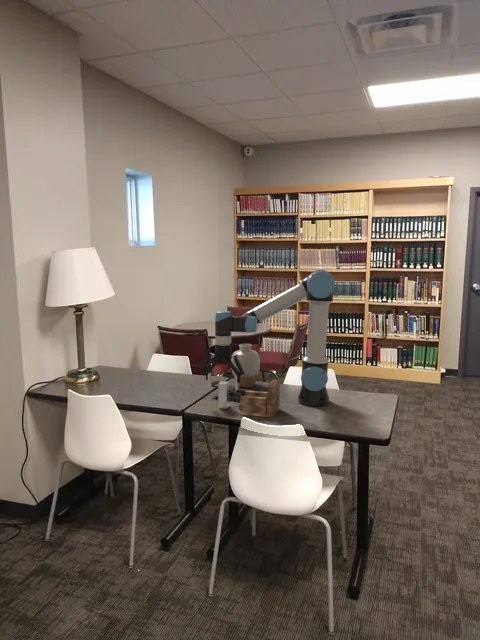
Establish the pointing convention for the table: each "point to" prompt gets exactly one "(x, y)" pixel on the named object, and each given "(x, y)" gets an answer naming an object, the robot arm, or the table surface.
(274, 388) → the wooden box
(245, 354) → the vase
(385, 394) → the table surface
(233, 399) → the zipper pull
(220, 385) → the white tall block
